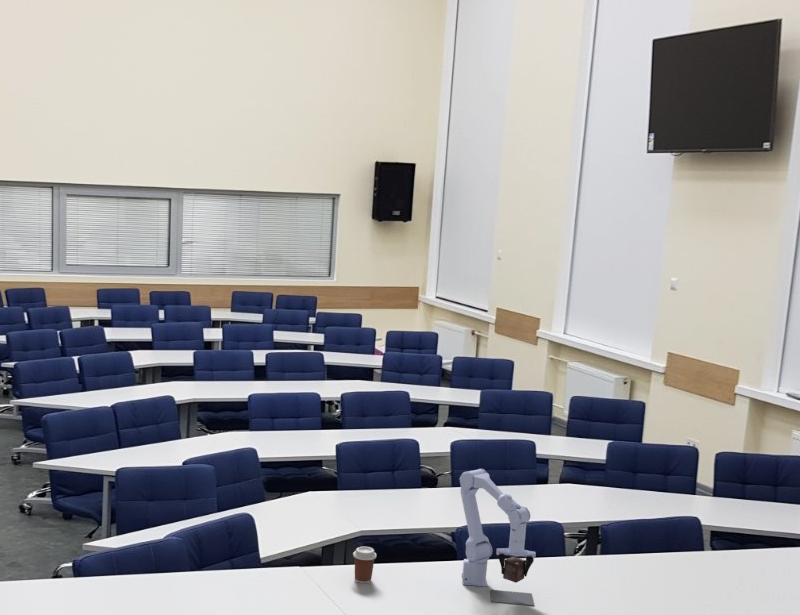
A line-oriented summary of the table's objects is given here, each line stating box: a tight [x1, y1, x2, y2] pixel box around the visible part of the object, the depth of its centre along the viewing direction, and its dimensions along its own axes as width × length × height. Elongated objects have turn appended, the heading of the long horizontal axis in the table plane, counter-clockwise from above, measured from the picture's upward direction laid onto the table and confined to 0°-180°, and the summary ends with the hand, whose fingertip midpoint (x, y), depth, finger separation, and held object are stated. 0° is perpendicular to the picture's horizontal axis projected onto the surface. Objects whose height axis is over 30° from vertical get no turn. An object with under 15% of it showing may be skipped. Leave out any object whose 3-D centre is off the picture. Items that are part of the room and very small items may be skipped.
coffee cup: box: [352, 546, 377, 584], centre depth 370 cm, size 9×9×12 cm
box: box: [502, 556, 526, 584], centre depth 363 cm, size 6×6×7 cm
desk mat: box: [489, 589, 535, 607], centre depth 364 cm, size 16×11×1 cm
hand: (513, 574), depth 363 cm, fingers closed on box, 7 cm apart
